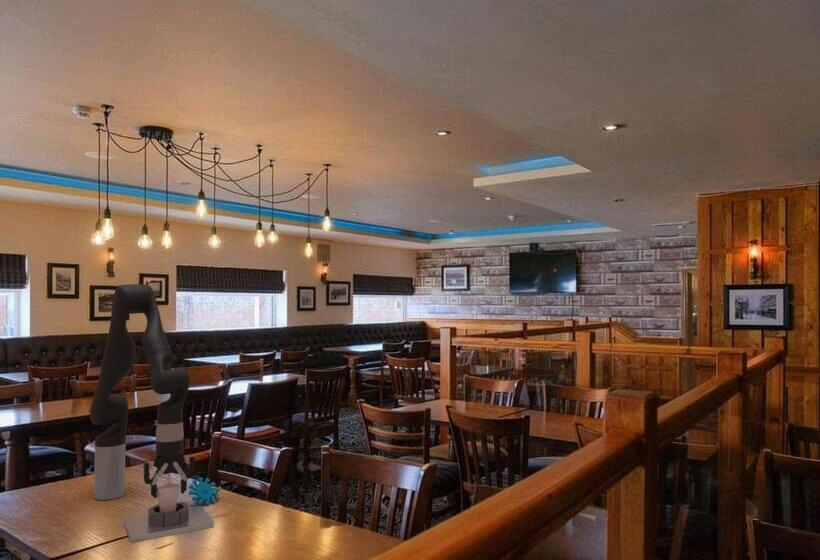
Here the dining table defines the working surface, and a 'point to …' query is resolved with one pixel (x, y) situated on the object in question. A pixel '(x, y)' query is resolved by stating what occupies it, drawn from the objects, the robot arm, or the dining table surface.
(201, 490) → the gear
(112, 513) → the dining table surface
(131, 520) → the hub plate
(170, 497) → the smoothie
